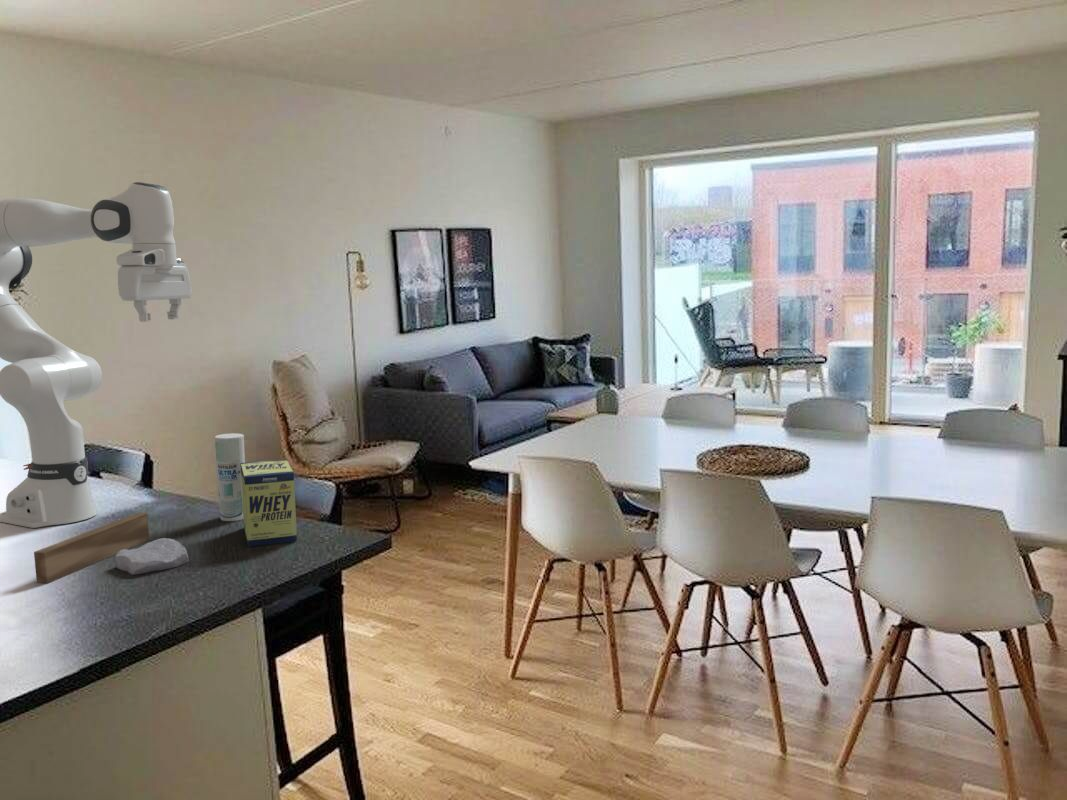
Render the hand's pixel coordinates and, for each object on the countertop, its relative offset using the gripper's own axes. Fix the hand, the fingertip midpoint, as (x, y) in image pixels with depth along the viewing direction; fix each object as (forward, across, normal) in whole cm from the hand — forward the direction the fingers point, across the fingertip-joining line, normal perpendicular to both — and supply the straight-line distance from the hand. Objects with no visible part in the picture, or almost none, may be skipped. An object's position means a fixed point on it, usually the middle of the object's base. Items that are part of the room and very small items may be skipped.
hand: (159, 320), depth 192 cm
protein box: (+48, 0, +25) cm, 54 cm away
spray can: (+48, -10, +9) cm, 50 cm away
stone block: (+48, +24, +13) cm, 55 cm away
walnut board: (+48, +24, 0) cm, 53 cm away
